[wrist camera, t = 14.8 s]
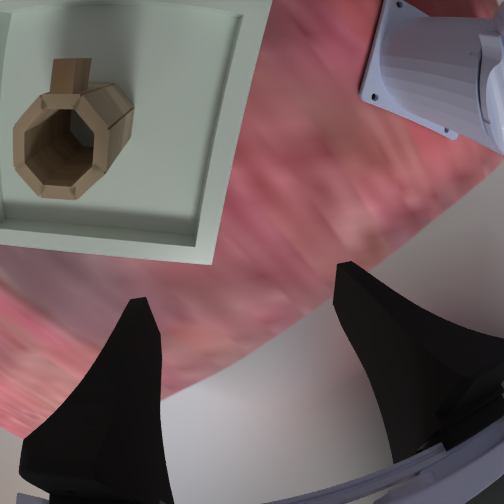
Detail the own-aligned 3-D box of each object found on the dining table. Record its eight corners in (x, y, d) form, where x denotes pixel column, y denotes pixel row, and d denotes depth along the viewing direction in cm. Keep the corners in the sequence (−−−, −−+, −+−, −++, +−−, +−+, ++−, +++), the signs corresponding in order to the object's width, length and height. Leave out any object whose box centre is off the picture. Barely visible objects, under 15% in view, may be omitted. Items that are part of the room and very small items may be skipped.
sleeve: (142, 60, 14) (119, 58, 9) (128, 159, 17) (105, 202, 12) (68, 58, 13) (17, 61, 8) (59, 154, 16) (15, 196, 11)
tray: (264, 6, 14) (272, 0, 12) (209, 247, 22) (211, 264, 20) (5, -1, 9) (-11, -4, 8) (-2, 228, 18) (-14, 242, 16)
